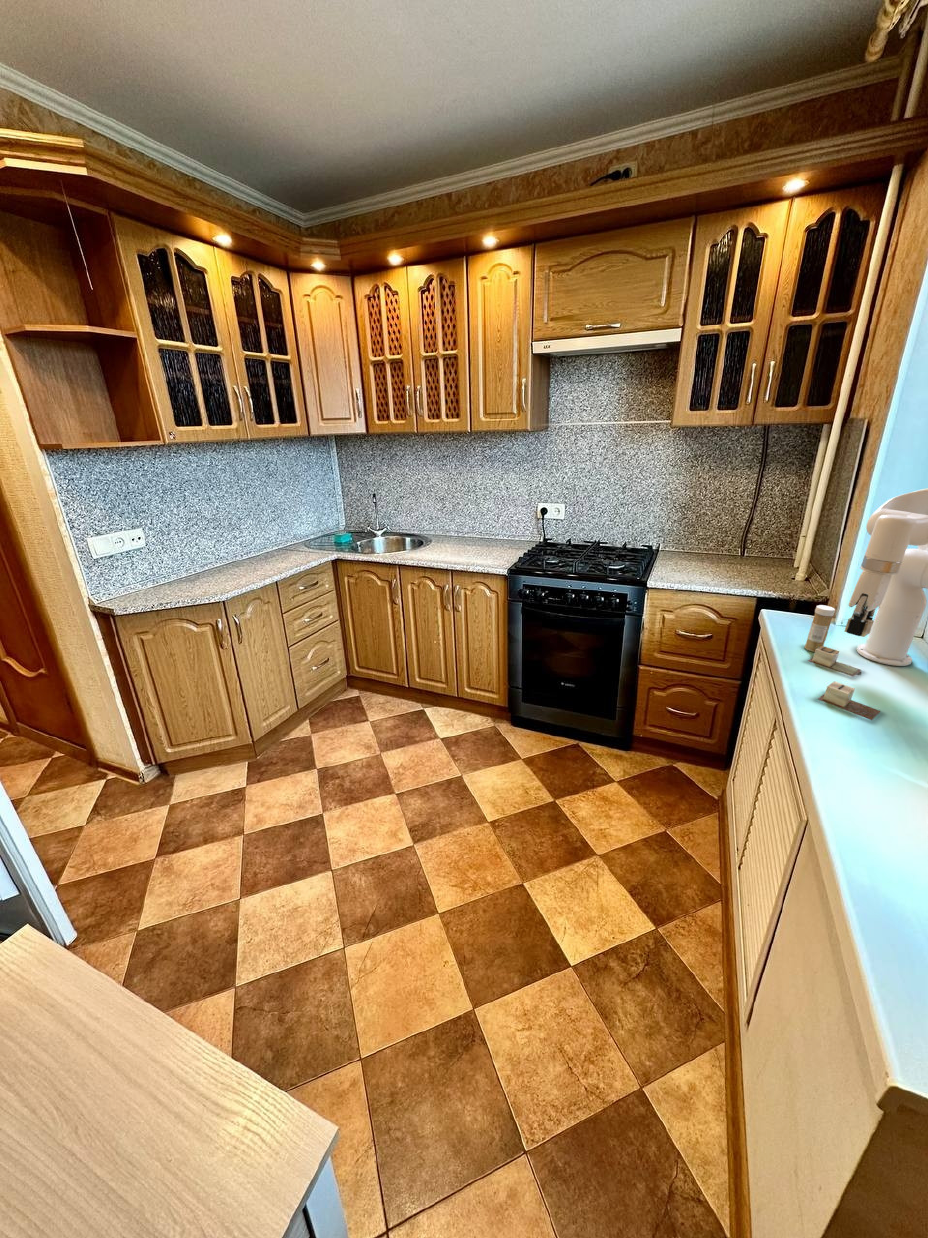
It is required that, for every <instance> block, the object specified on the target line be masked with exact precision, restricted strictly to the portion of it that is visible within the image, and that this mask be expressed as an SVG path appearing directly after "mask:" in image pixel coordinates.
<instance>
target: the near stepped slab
mask: <svg viewBox="0 0 928 1238" xmlns="http://www.w3.org/2000/svg"><path fill="white" fill-rule="evenodd" d="M855 690H856V688H854V687H851V686H849V685H846V684H843V683H842V682H841V683H840V682H838V681H832V682H831V683H830V684H829V685H827V686H826V688H825V692H824V694H822V695H821V696H820V697H818V698H817V700H819V701H821V702H824V703H826V704H828V705H831V706H834V707H836V708H839V709H842V710H845V711H847V712H849V713H851V714H855V715H857V716H859V717H863V718H865V719H868V720H870V721H872V720H873V719H874V718H876V717H877V716H878V715H879V713H881V710H879V709H877V708H873V707H871V706H869V705H865V704H863V703H861V702H857V701H855V700H852V698H853V696H854V693H855Z"/></svg>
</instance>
